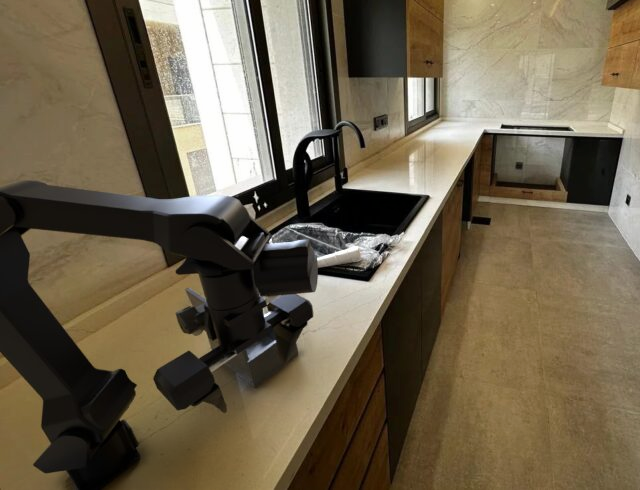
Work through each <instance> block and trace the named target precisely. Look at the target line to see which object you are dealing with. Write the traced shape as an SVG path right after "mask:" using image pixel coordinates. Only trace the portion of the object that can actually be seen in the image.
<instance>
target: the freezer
mask: <svg viewBox="0 0 640 490" xmlns="http://www.w3.org/2000/svg"><path fill="white" fill-rule="evenodd" d="M263 313H264V315H266V314H267V312H264V311H263ZM207 340H208V342H209V346H210V349H211V351H212V350H213V349H215V348H216V347H218V346H219V343H218V341H217V340H214V341H212V340H210V339H209V338H208V337H207ZM245 350H246V353H247V355H248V358H249V361H247V362H245V361H244V360H242V359H241V358H240V357H239V356H237V355H236V356H235V357H233V358H232V359H230V360H229V361H227V362H226V363H224V364H223V365H225V366H226V367H228V368H229V369H230V370H231V371H232V372H234V373H235V374H236V375H237V376H238V377H240V378H241V379H242V380H244V381H245V382H246V383H248V385H250V386H251V387H252V388H253V389H256V388H258V386H260V385H261V384H263V383H264V382H265V381H267V380H268V379H269V378H270V377H271V376H272V375H273V374H275V373H276V372H278V371H279V370H280V369H281V368H283V367H284V366H285V365H284V364H282V363H281V362H280V359H279V356H278V350H277V344H276V338H275V332H274V329H273V328H272V331H271V332H270V333H268V334H267V335H265V336H264V337H263V338H261V339H260V340H258V341H257V342H255V343H254V344H252V345H251V346H249V347H248V348H246V349H245ZM297 355H299V350H298V344H297V343H296V344H295V346H294V348H293V351H292V353H291V355H290V358H289V360H288V362H287V363H289V362H290V361H292V360H293V359H294V358H295V357H296V356H297Z"/></svg>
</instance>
